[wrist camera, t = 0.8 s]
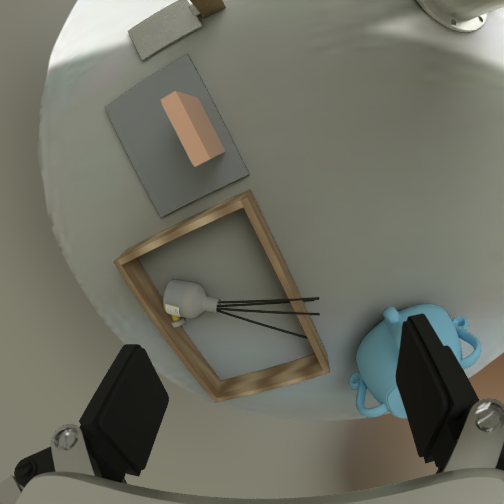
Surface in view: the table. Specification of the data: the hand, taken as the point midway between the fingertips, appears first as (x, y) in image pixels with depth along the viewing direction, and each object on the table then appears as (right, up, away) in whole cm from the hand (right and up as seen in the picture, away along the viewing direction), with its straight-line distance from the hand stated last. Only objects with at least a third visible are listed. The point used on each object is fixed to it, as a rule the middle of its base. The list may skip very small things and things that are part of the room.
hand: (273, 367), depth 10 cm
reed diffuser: (-2, -3, +32) cm, 32 cm away
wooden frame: (-4, -3, +31) cm, 32 cm away
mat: (-10, +17, +23) cm, 31 cm away
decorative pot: (+22, -9, +32) cm, 40 cm away
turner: (-9, +31, +17) cm, 37 cm away
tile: (-6, +18, +22) cm, 29 cm away
